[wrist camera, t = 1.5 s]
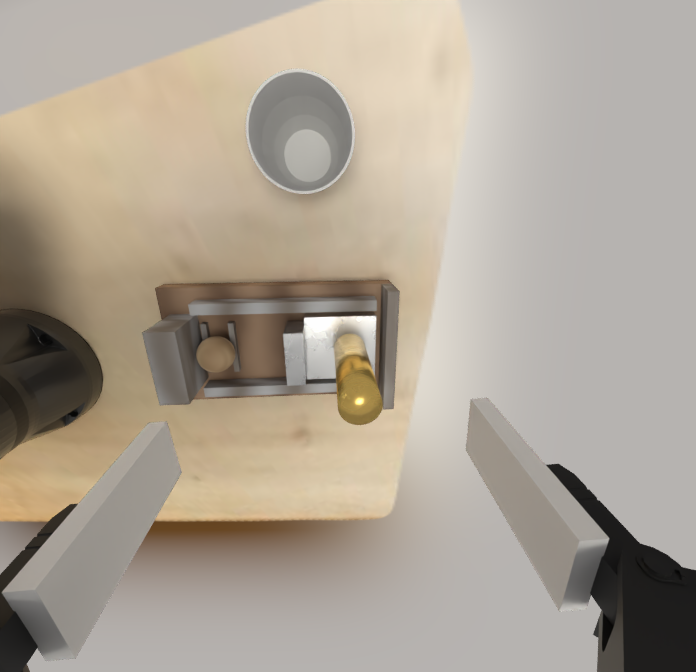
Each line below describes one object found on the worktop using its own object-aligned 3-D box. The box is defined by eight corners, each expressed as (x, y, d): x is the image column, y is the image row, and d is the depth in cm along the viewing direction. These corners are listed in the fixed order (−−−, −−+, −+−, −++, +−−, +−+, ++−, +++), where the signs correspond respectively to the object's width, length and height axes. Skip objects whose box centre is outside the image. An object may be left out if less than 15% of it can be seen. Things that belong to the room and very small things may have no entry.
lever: (291, 373, 40) (276, 448, 27) (287, 314, 37) (267, 366, 24) (372, 370, 40) (395, 442, 28) (374, 311, 38) (399, 361, 25)
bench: (185, 391, 42) (155, 430, 35) (163, 284, 37) (123, 302, 30) (384, 383, 44) (397, 418, 36) (388, 280, 39) (404, 296, 31)
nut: (206, 363, 38) (194, 379, 35) (201, 331, 37) (187, 344, 33) (241, 362, 39) (232, 378, 35) (236, 330, 37) (227, 343, 34)
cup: (350, 194, 35) (359, 188, 26) (275, 202, 35) (257, 199, 26) (342, 106, 32) (349, 63, 23) (260, 114, 32) (234, 74, 23)
